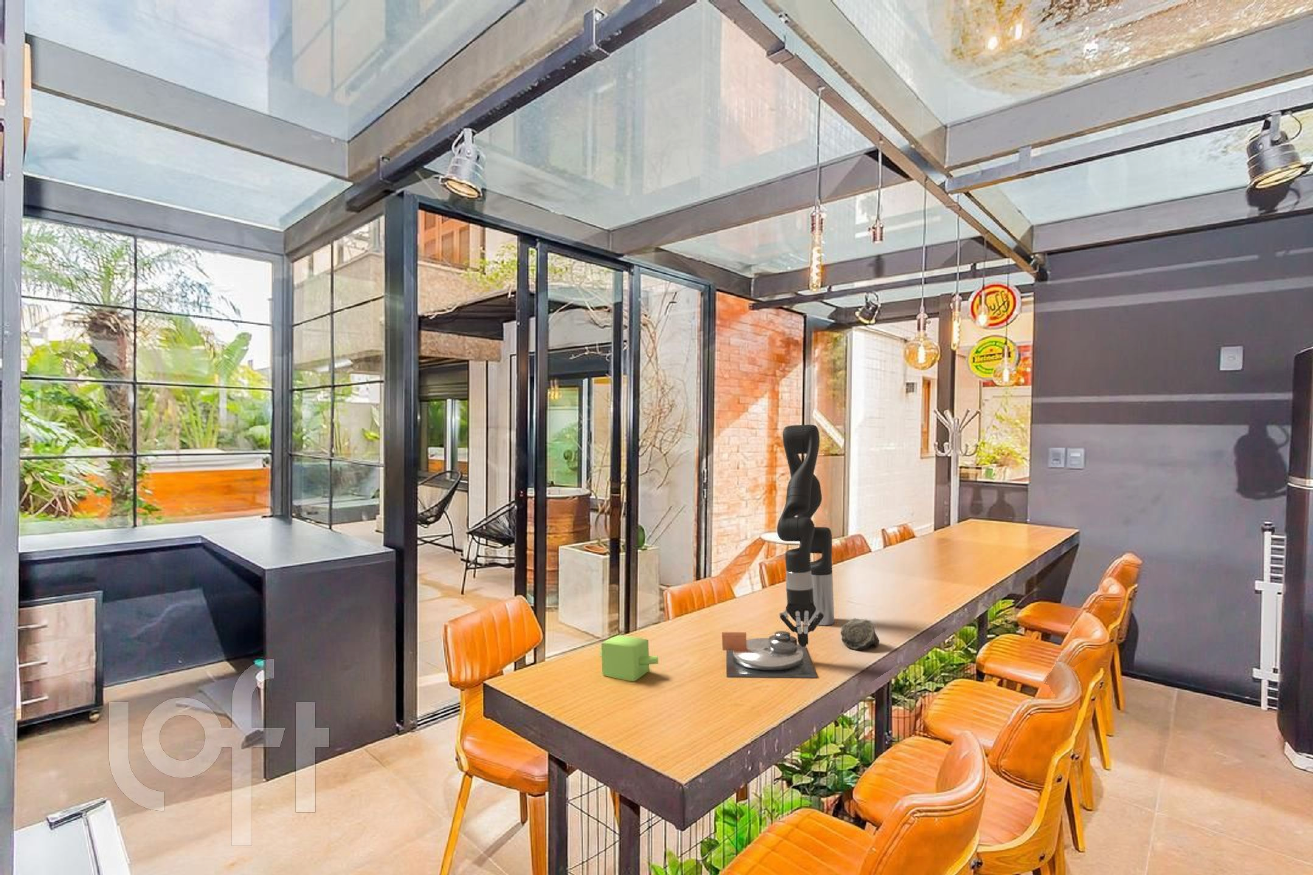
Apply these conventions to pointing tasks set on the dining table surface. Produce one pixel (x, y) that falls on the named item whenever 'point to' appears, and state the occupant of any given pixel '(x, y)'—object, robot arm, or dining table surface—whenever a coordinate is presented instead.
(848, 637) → the fossil
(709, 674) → the dining table surface
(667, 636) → the dining table surface
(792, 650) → the cover
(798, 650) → the turntable
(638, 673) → the gearbox
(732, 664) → the turntable base
